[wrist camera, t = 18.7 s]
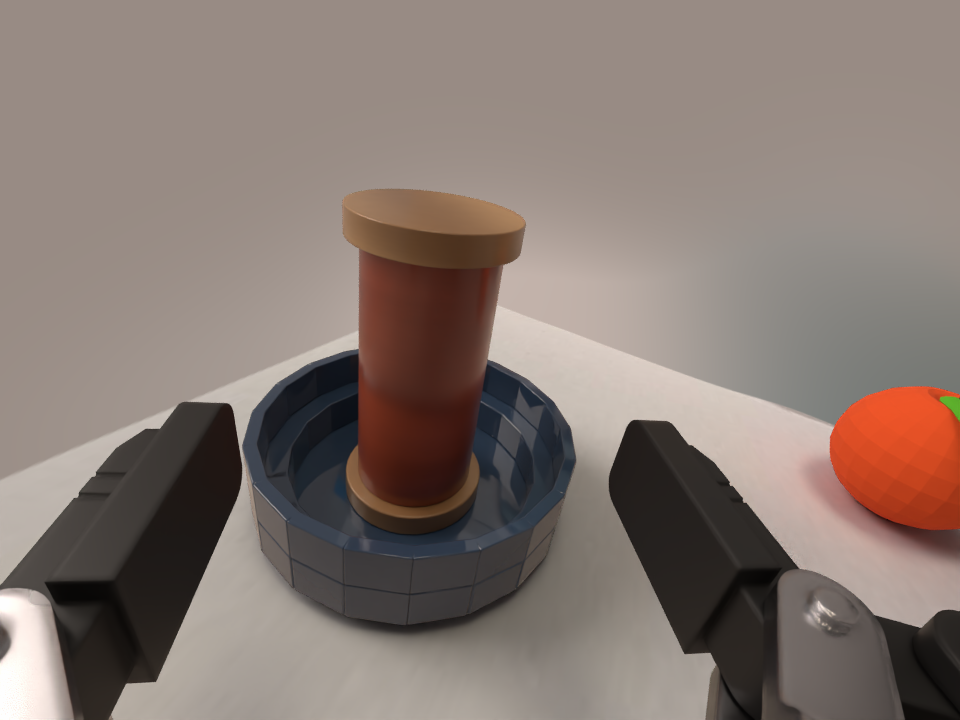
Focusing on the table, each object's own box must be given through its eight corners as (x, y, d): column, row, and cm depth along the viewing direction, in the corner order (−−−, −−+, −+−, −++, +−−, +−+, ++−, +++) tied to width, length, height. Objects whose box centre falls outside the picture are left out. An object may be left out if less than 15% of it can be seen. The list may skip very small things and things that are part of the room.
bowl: (464, 387, 29) (472, 331, 27) (614, 545, 20) (643, 477, 18) (233, 439, 22) (222, 369, 20) (300, 716, 13) (290, 637, 11)
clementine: (1002, 607, 20) (1142, 488, 16) (820, 537, 22) (909, 418, 18) (930, 490, 26) (1019, 387, 23) (796, 445, 28) (858, 344, 25)
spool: (439, 428, 24) (467, 190, 18) (501, 505, 20) (563, 232, 14) (328, 458, 21) (318, 185, 15) (374, 557, 17) (386, 237, 11)
